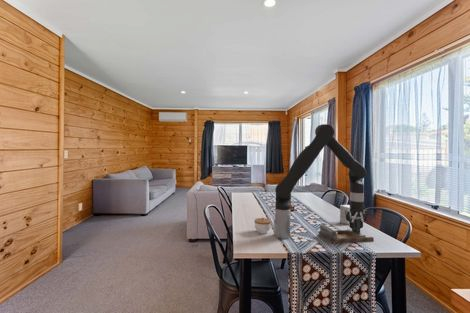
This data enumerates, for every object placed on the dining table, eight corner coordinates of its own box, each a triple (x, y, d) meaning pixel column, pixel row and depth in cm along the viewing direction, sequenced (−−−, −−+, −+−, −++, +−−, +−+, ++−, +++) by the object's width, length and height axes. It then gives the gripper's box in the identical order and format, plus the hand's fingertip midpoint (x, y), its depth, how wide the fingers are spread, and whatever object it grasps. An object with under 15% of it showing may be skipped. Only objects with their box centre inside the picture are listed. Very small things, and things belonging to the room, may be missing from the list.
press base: (331, 245, 131) (332, 232, 131) (318, 236, 145) (319, 224, 145) (373, 243, 135) (373, 230, 135) (357, 234, 149) (357, 223, 149)
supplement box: (347, 221, 179) (347, 204, 179) (355, 223, 172) (355, 206, 172) (339, 221, 177) (339, 205, 176) (347, 224, 170) (347, 207, 169)
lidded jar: (274, 232, 152) (274, 218, 152) (263, 236, 145) (263, 221, 145) (262, 228, 160) (262, 214, 160) (250, 231, 153) (251, 217, 153)
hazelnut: (332, 239, 137) (332, 233, 137) (328, 237, 141) (328, 231, 141) (338, 239, 137) (338, 233, 137) (335, 236, 141) (335, 231, 141)
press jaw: (359, 240, 136) (359, 221, 135) (347, 233, 146) (347, 216, 146) (365, 240, 136) (365, 221, 136) (352, 233, 147) (353, 215, 147)
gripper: (349, 201, 136) (349, 230, 136) (372, 200, 138) (371, 229, 139) (342, 198, 143) (341, 226, 144) (363, 198, 146) (362, 225, 146)
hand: (356, 227), depth 141 cm, fingers open, 5 cm apart
